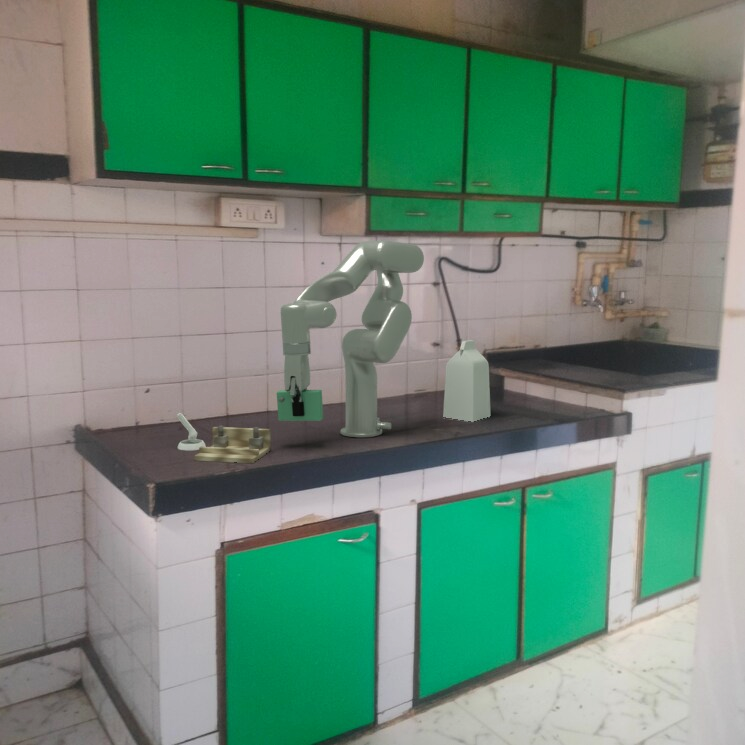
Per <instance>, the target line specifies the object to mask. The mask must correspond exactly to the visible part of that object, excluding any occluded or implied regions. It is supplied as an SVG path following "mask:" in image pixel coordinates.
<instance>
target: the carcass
mask: <svg viewBox="0 0 745 745" xmlns="http://www.w3.org/2000/svg"><path fill="white" fill-rule="evenodd" d="M271 438H272V437H271V428H259V426H253V427H249V428H248V427H232V426H231V427H226V426H224V425H222V424H221V425H218V426H214V427H212V445H211V446H206V447H199V451H198V453H196V454H195V455H193V461H195V462H217V463H234V462H237V463H238V464H255V463H256V462H257V461H259V460H260V459H261V458H262V457H264V456H266V453H267V454H268V453H269V451H270V452H271V451H272V447H271V445H272V444H271V443H272V442H271ZM258 459H259V460H258ZM255 461H256V462H255ZM237 463H236V464H237Z"/></svg>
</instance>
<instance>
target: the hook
mask: <svg viewBox="0 0 745 745" xmlns="http://www.w3.org/2000/svg"><path fill="white" fill-rule="evenodd" d="M176 417H177V419H178V420H179V421H180V423H181V424H182V425H183V426H184V428H185V429H186V430H187V432H188V437H187V439H183V440H181V441H180V442H179V443H178V445H177V449H178V450H179V451H197V450H199V447H207V446H206V443H205V442H204V441H205V440H202V439H197V438H198V437H197V436H198V431H196V429H195V428H194V427H193V426H192V424H191V423H190V421H188V419H187V418H186V417H185V416H184V414H183V413H182V412H179V413H177V414H176Z"/></svg>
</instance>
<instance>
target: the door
mask: <svg viewBox="0 0 745 745" xmlns="http://www.w3.org/2000/svg"><path fill="white" fill-rule="evenodd" d="M296 391H299V390H296ZM297 394H298V395H299V393H297ZM276 401H277V402H276V404H277V415H278V416H277V417H278V421H280V422H281V421H287V422H288V421H289V422H291V421H295V422H296V421H297V422H298V421H300V422H301V421H303V422H305V421H306V422H307V421H308V422H309V421H310V422H311V421H313V422H315V421H317V422H319V421H322V420H323V419H324V409H323V408H324V407H323V405H324V404H323V391H322V389H307V390H303V391H302V402H304V416H293V412H292V397H291V396H290V391H288V392H286V391H285V389H280V390H278V391H277V392H276Z"/></svg>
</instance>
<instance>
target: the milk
mask: <svg viewBox="0 0 745 745" xmlns="http://www.w3.org/2000/svg"><path fill="white" fill-rule="evenodd" d="M445 365H446V366H445V377H444V378H445V380H444V395H443V396H444V397H443V398H444V399H443V412H442V415H443V416H442V418H443V417H446V418H452V419H451V420H453V419H458V420H457V421H460V420H464V421H463V422H468V421H471V422H470V423H475V422H474V421H476V422H478V421H477V420H479V421H481V420H480V419H482V420H484V419H483V418H485V419H487V417H488V418H490V416H491V394H490V392H491V391H490V390H491V389H490V367H489V366H490V365H489V362H488V360H487V358H485V357H484V355H483V354H481V352H480V351H479V350H478V349H477V348H476V343H475V339H473V340H472V339H470V340H462V341H461V344H460V347H459V350H458V351H457V352H456V353H455V354H454V355H453V356H452V357H450V359H449V360H448V361H447V362H446V364H445Z"/></svg>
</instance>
